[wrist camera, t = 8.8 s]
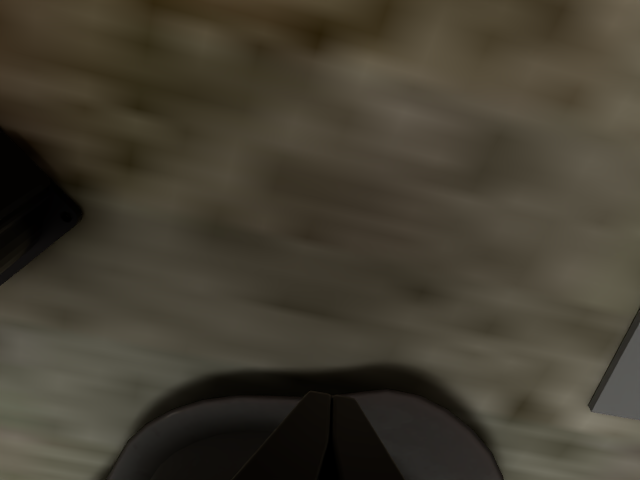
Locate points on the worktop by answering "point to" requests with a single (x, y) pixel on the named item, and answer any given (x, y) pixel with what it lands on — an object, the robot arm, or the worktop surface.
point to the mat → (622, 379)
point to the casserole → (266, 415)
